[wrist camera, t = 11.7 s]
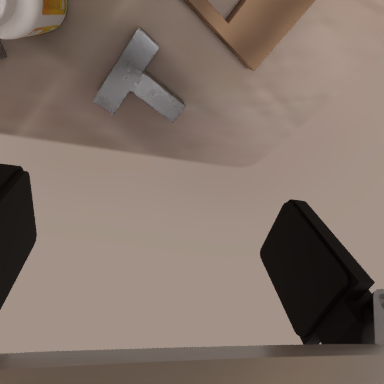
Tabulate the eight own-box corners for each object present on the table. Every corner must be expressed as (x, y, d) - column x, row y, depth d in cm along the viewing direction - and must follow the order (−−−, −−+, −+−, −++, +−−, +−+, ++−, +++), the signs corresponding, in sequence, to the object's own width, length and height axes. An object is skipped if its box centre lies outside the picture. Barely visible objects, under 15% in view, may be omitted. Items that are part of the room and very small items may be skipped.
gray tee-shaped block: (97, 92, 25) (92, 100, 22) (139, 26, 22) (138, 28, 20) (156, 134, 28) (157, 145, 26) (198, 80, 26) (204, 87, 23)
